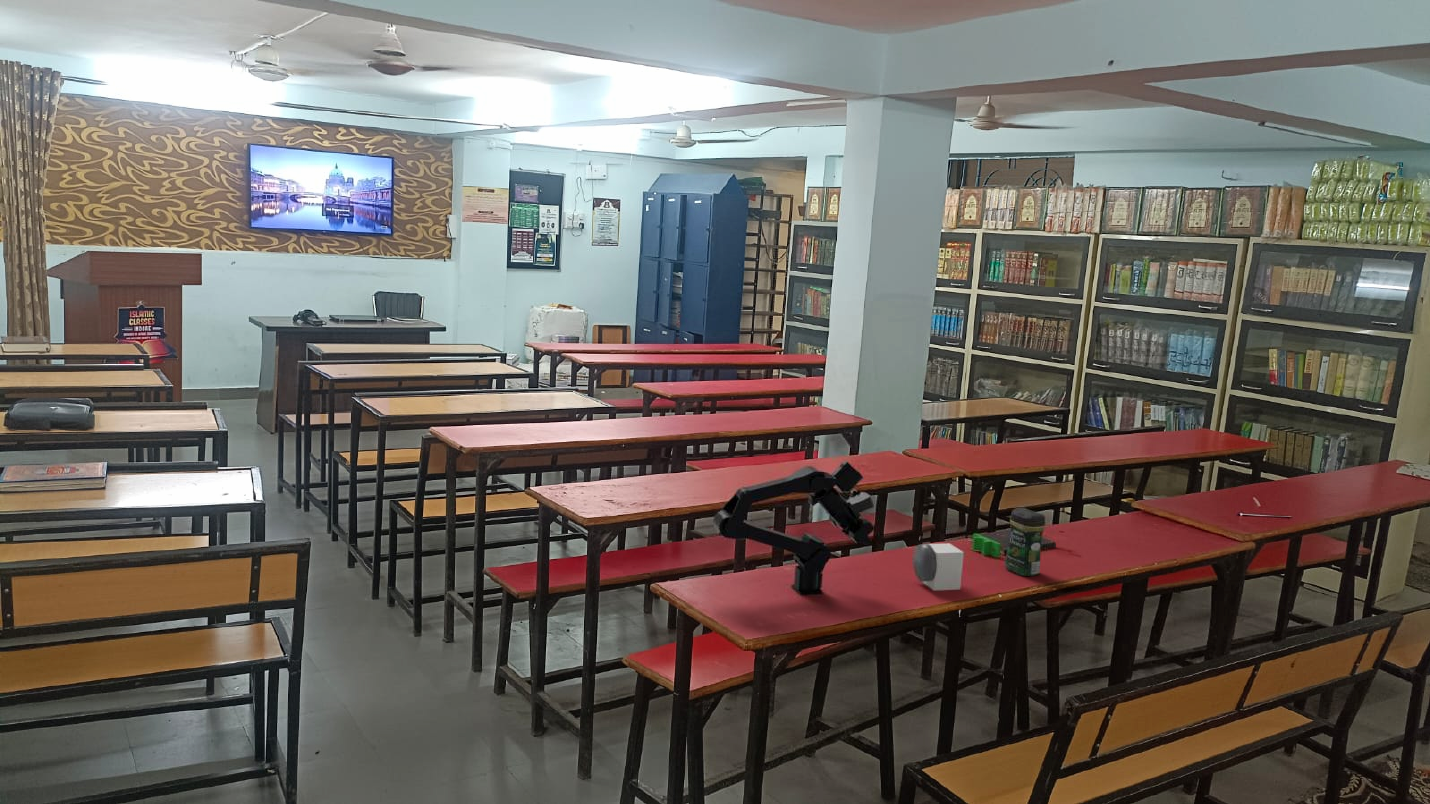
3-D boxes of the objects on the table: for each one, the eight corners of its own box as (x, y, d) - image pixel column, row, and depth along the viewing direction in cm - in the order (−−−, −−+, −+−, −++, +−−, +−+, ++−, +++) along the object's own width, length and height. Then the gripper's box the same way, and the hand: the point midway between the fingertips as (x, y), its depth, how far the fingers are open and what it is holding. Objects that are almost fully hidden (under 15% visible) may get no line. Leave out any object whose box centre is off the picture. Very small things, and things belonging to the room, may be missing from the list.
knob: (928, 586, 264) (931, 551, 263) (911, 574, 274) (914, 539, 272) (951, 585, 266) (955, 550, 264) (934, 573, 275) (937, 539, 274)
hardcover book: (966, 542, 315) (967, 535, 314) (1017, 535, 326) (1018, 528, 326) (1003, 557, 301) (1004, 550, 301) (1055, 549, 313) (1056, 542, 312)
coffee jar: (999, 567, 289) (1006, 506, 286) (1020, 565, 292) (1026, 504, 289) (1023, 578, 280) (1030, 515, 277) (1044, 575, 284) (1051, 513, 281)
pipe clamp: (965, 548, 307) (966, 534, 306) (974, 547, 309) (976, 533, 308) (989, 559, 297) (991, 544, 296) (999, 558, 299) (1000, 543, 298)
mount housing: (933, 590, 266) (937, 553, 264) (920, 580, 274) (923, 544, 272) (960, 589, 268) (963, 552, 266) (946, 579, 276) (949, 543, 274)
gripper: (870, 492, 250) (906, 533, 255) (843, 475, 268) (876, 514, 273) (839, 522, 249) (875, 563, 254) (813, 503, 267) (848, 541, 272)
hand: (869, 544), depth 263 cm, fingers closed
